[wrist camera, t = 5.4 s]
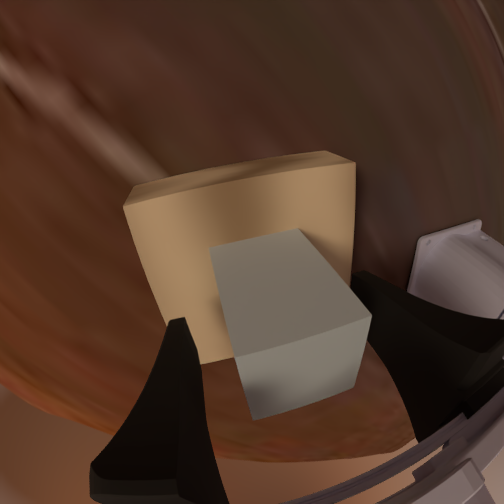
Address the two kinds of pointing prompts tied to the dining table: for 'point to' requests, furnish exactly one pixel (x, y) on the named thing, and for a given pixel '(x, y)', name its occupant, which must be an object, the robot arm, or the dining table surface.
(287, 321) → the gray block
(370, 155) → the dining table surface
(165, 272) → the maple pedestal
